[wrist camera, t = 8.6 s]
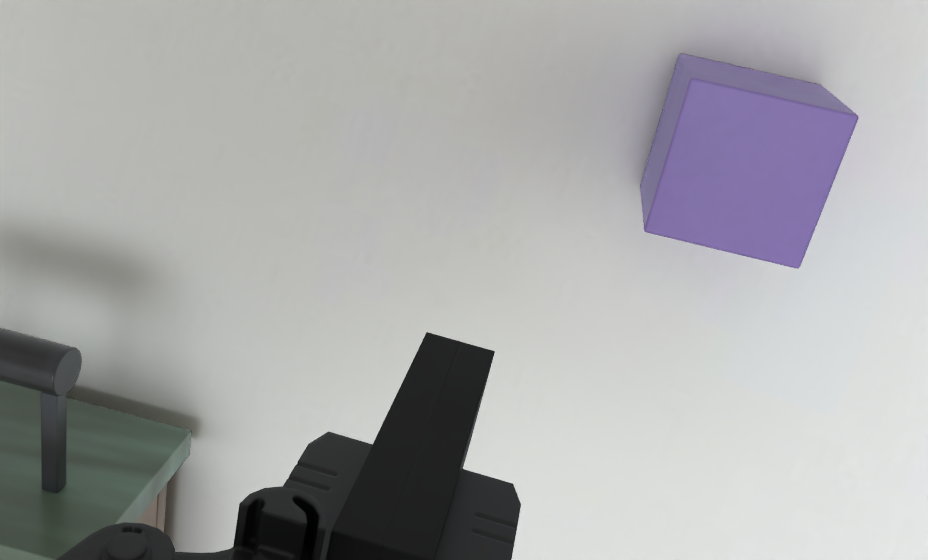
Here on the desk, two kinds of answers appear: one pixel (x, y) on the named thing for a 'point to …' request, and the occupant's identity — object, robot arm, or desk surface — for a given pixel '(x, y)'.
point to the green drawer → (72, 455)
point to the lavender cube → (743, 160)
